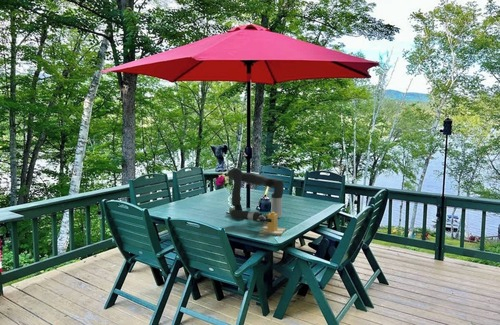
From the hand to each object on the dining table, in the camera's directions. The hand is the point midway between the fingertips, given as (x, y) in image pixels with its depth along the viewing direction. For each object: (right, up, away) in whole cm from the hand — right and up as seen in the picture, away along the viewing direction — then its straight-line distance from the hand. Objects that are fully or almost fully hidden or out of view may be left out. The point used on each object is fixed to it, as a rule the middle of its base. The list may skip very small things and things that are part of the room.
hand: (273, 219), depth 247 cm
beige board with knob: (-1, -9, +1) cm, 10 cm away
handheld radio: (-31, -5, +43) cm, 53 cm away
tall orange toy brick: (-1, -8, +1) cm, 8 cm away
